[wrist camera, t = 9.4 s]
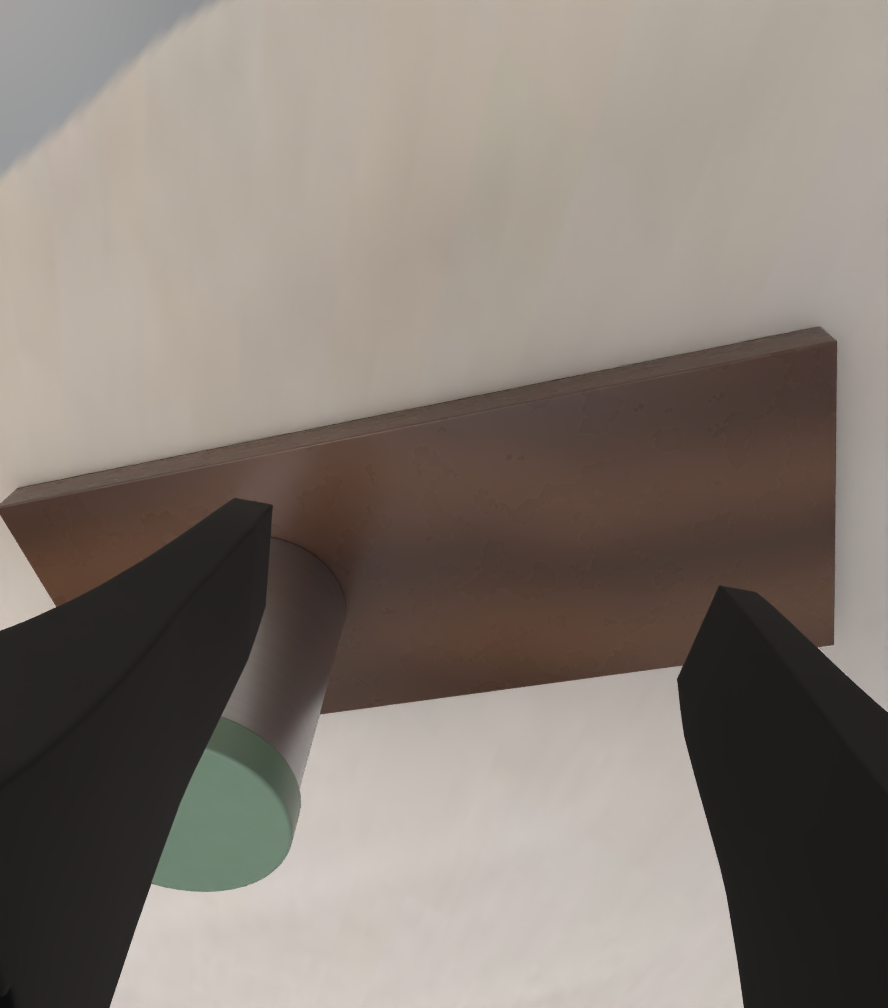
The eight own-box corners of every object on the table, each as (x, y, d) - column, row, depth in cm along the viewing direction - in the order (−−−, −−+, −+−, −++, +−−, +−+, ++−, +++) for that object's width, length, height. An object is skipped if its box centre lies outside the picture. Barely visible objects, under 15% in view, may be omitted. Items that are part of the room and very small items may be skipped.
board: (820, 621, 25) (834, 645, 24) (149, 715, 29) (136, 739, 28) (820, 325, 20) (838, 340, 19) (16, 488, 24) (-6, 507, 23)
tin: (370, 653, 25) (322, 882, 18) (221, 675, 26) (121, 902, 19) (320, 517, 23) (241, 724, 16) (157, 547, 24) (14, 755, 17)
